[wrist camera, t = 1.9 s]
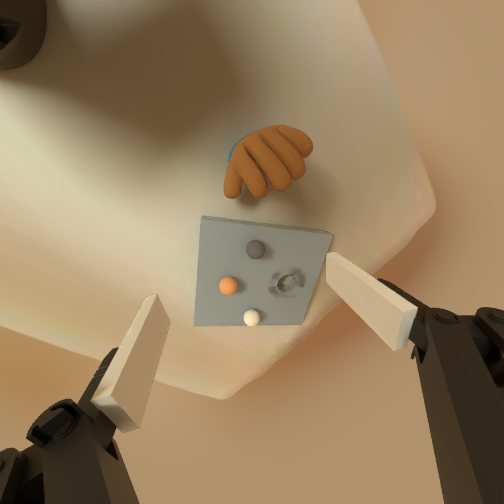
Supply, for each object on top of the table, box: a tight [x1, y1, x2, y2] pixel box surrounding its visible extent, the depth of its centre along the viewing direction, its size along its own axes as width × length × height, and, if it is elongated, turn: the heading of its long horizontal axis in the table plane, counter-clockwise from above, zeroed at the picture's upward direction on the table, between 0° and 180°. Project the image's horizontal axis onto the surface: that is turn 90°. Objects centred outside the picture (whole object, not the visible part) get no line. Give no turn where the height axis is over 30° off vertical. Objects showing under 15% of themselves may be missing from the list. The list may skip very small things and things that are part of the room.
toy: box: [224, 125, 313, 199], centre depth 25 cm, size 12×7×15 cm, turn 116°
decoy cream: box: [244, 309, 260, 327], centre depth 40 cm, size 4×4×4 cm
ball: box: [219, 277, 237, 295], centre depth 36 cm, size 4×4×4 cm
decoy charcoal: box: [246, 240, 265, 259], centre depth 34 cm, size 4×4×4 cm
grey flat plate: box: [194, 216, 333, 326], centre depth 40 cm, size 26×24×2 cm
